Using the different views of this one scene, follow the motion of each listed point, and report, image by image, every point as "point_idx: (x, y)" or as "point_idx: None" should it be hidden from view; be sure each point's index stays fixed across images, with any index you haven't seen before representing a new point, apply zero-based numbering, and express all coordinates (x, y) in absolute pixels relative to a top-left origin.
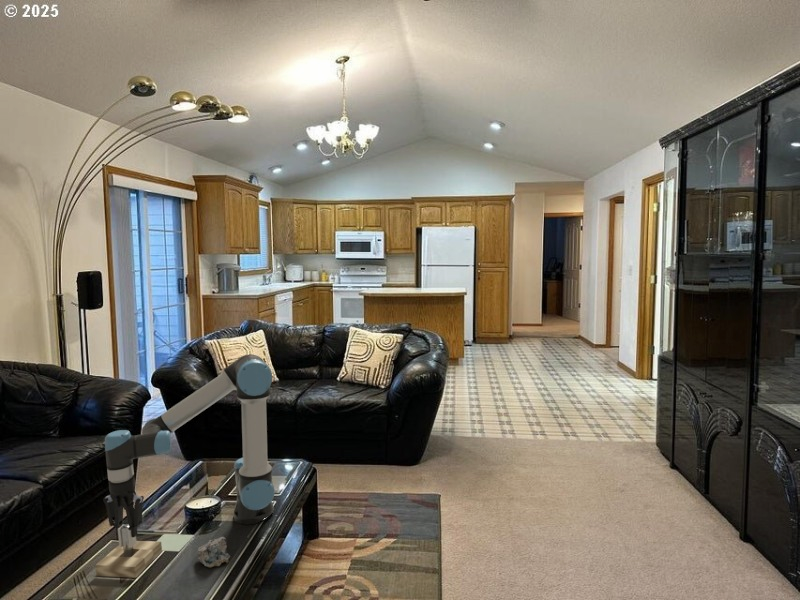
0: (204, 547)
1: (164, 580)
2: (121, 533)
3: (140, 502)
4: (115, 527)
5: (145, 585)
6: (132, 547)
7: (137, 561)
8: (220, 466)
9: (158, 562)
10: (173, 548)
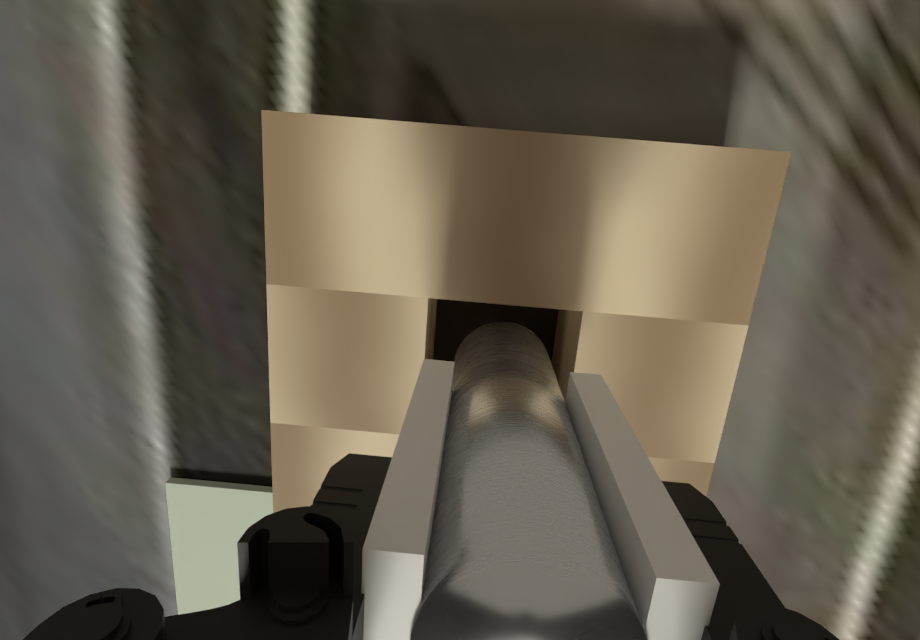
0: None
1: (25, 97)
2: (609, 514)
3: None
4: (808, 627)
5: (152, 18)
6: None
7: (302, 219)
8: None
9: (257, 354)
10: (236, 518)
